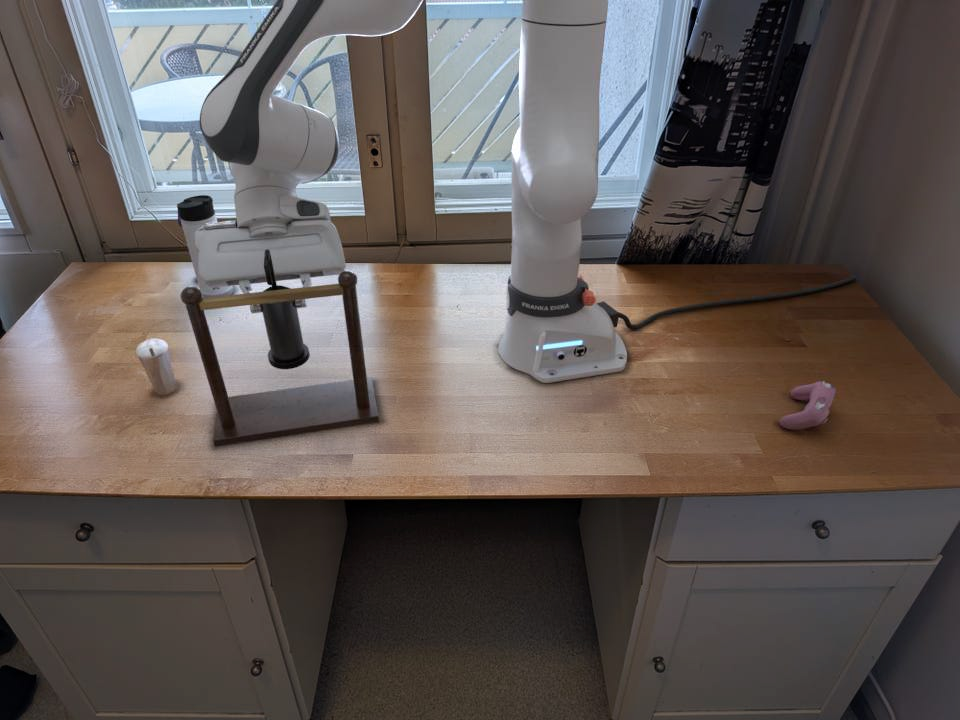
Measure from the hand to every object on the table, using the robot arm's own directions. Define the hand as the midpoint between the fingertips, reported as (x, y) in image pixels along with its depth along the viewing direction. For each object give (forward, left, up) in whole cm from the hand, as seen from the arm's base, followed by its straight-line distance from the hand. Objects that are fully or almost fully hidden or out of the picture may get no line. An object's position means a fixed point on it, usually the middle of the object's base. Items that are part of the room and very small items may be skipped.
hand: (279, 309), depth 92 cm
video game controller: (-79, +7, -18) cm, 81 cm away
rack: (0, +2, -18) cm, 18 cm away
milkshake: (+22, -5, -18) cm, 29 cm away
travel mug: (+22, -37, -18) cm, 46 cm away
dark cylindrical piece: (0, +1, -9) cm, 9 cm away
